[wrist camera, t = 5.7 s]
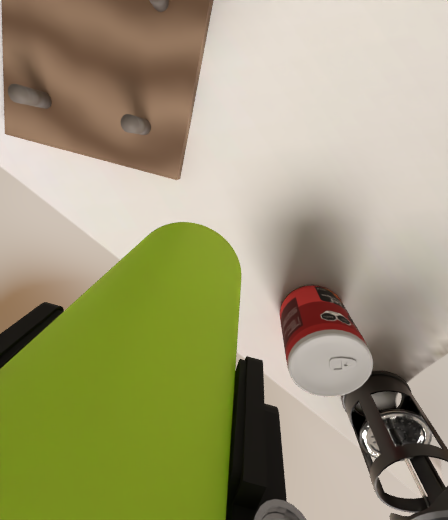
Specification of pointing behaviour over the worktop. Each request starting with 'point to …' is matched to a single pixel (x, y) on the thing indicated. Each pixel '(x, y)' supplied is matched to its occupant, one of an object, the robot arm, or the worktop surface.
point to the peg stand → (105, 77)
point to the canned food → (323, 343)
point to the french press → (399, 445)
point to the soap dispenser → (129, 391)
